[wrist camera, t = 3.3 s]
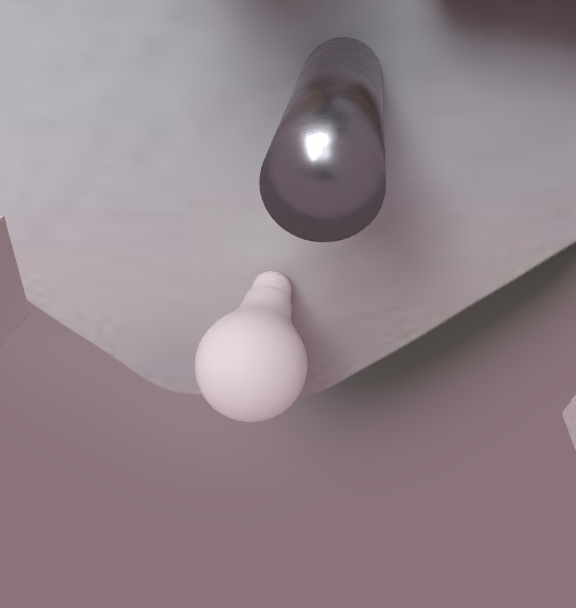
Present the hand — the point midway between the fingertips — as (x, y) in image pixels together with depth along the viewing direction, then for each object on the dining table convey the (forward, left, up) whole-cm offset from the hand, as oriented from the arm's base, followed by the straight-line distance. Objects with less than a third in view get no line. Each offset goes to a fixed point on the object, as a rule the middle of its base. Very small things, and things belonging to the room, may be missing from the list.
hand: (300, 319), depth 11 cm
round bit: (0, 0, -18) cm, 18 cm away
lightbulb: (+13, -2, -19) cm, 23 cm away
